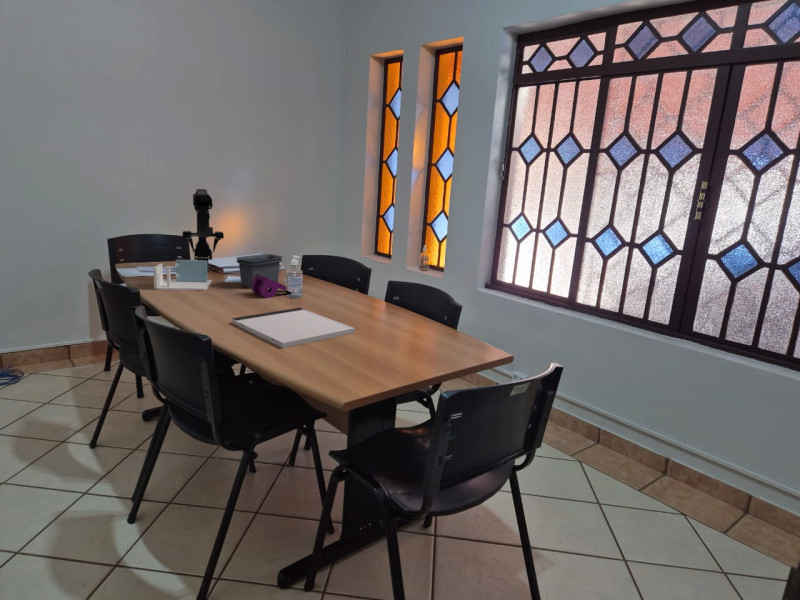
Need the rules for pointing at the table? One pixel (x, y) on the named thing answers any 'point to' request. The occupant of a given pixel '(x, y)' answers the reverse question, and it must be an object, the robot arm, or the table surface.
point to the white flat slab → (292, 327)
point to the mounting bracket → (266, 286)
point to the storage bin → (258, 267)
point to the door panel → (191, 270)
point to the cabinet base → (172, 283)
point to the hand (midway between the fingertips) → (203, 252)
